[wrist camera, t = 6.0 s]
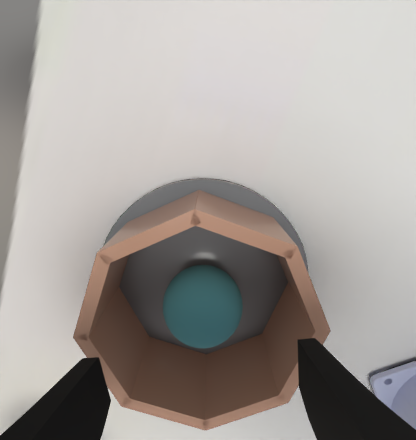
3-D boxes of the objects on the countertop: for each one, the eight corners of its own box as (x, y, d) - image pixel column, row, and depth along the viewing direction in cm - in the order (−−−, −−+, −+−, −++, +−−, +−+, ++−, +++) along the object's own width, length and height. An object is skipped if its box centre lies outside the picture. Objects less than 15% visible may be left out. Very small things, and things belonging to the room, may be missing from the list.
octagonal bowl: (259, 140, 14) (285, 141, 10) (329, 320, 17) (375, 389, 12) (65, 230, 16) (1, 270, 11) (160, 382, 19) (143, 465, 14)
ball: (221, 241, 15) (226, 275, 11) (248, 300, 16) (261, 349, 12) (156, 269, 15) (139, 311, 12) (186, 324, 16) (181, 380, 13)
